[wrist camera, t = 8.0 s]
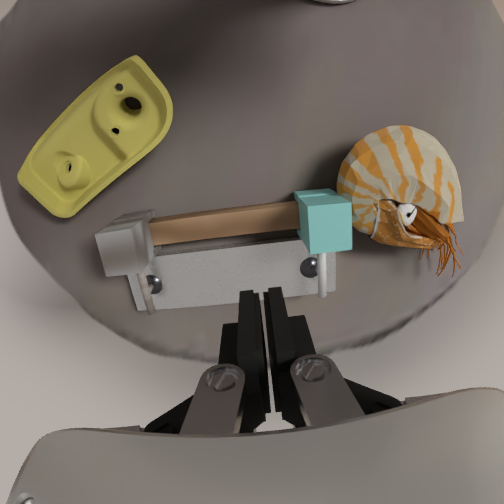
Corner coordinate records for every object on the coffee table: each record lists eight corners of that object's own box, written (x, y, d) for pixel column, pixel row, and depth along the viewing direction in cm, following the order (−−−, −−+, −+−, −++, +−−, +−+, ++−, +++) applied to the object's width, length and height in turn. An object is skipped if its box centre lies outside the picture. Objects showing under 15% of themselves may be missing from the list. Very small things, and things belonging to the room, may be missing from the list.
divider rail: (124, 213, 33) (94, 233, 25) (338, 187, 32) (364, 199, 25) (145, 298, 36) (125, 333, 29) (340, 278, 36) (361, 310, 29)
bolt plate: (126, 256, 34) (123, 260, 33) (332, 233, 34) (335, 236, 33) (140, 306, 37) (138, 310, 36) (332, 286, 36) (335, 290, 35)
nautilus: (461, 241, 35) (382, 296, 38) (409, 101, 28) (307, 161, 31) (493, 265, 28) (405, 331, 31) (448, 99, 20) (325, 173, 24)
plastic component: (64, 224, 30) (8, 173, 24) (79, 191, 36) (33, 145, 29) (192, 122, 26) (131, 45, 19) (192, 103, 31) (144, 40, 24)
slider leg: (293, 191, 32) (307, 204, 25) (328, 188, 32) (351, 200, 25) (300, 284, 36) (312, 317, 29) (331, 280, 36) (350, 312, 29)
